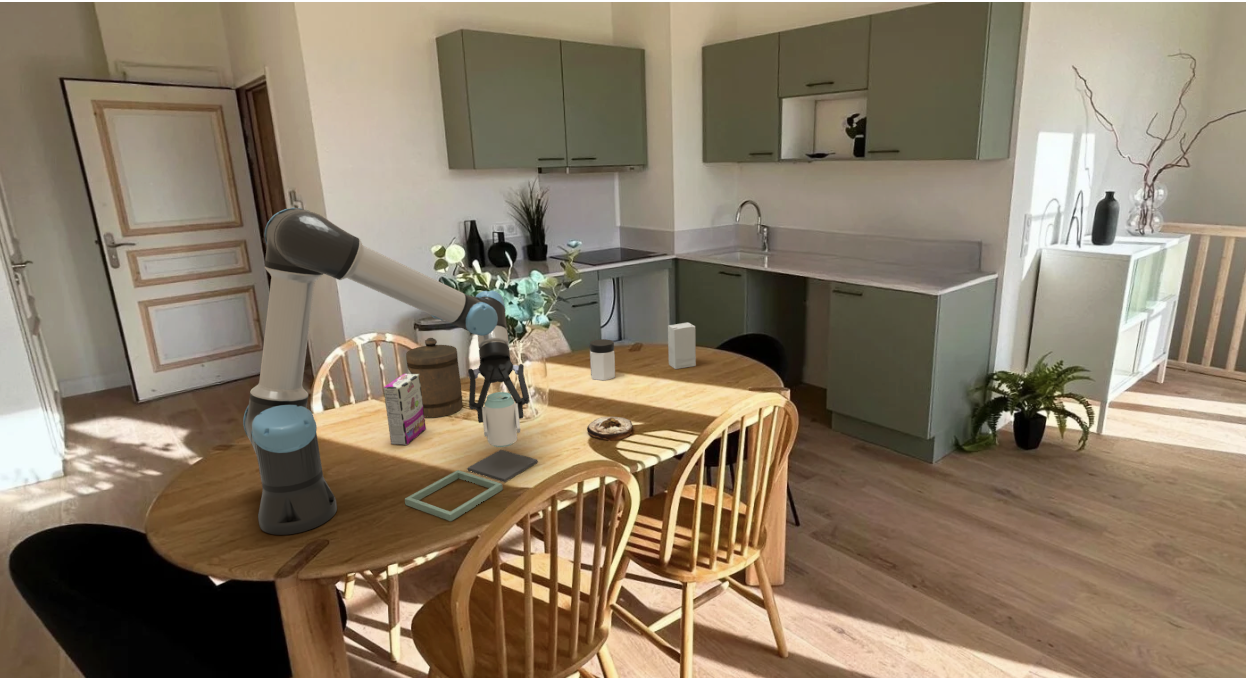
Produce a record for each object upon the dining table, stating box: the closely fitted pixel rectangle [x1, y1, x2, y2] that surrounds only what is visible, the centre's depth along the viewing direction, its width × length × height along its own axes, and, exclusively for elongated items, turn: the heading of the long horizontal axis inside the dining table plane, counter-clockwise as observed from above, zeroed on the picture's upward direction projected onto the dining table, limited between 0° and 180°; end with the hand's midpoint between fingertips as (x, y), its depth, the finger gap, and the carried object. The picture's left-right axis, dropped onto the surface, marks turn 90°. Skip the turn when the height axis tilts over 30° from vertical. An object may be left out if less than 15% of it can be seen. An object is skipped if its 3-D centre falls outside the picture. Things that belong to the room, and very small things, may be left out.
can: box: [484, 391, 518, 448], centre depth 166 cm, size 7×7×12 cm
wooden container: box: [405, 337, 464, 419], centre depth 205 cm, size 15×15×22 cm
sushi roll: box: [586, 416, 634, 443], centre depth 188 cm, size 15×15×4 cm
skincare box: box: [667, 322, 697, 370], centre depth 241 cm, size 8×6×15 cm
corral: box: [404, 469, 504, 522], centre depth 154 cm, size 16×14×2 cm
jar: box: [589, 338, 616, 381], centre depth 232 cm, size 9×8×12 cm
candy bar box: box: [382, 373, 427, 446], centre depth 186 cm, size 11×5×16 cm, turn 168°
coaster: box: [466, 449, 539, 483], centre depth 169 cm, size 12×12×1 cm
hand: (502, 432), depth 163 cm, fingers closed on can, 7 cm apart
